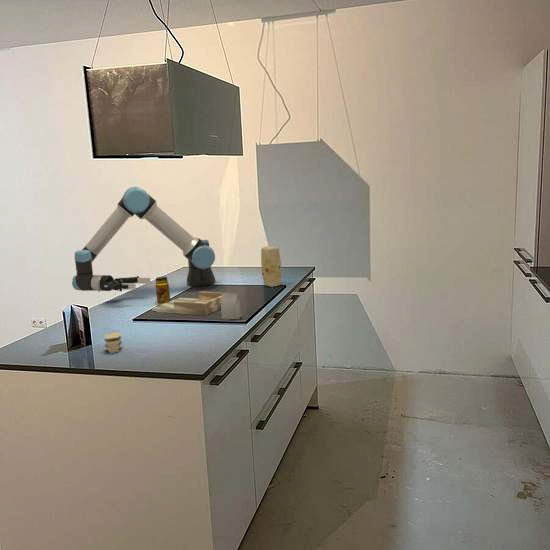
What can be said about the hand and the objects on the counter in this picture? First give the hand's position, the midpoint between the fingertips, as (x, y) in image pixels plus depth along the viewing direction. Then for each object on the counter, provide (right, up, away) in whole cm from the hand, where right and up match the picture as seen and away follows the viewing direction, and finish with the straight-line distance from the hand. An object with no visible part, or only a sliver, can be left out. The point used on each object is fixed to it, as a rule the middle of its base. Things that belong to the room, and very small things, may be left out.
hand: (142, 283), depth 277 cm
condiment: (+10, -9, -1) cm, 14 cm away
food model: (+60, -2, +19) cm, 63 cm away
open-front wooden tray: (+25, -10, -16) cm, 31 cm away
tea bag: (+44, -14, -37) cm, 59 cm away
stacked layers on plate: (+6, -23, -70) cm, 73 cm away
